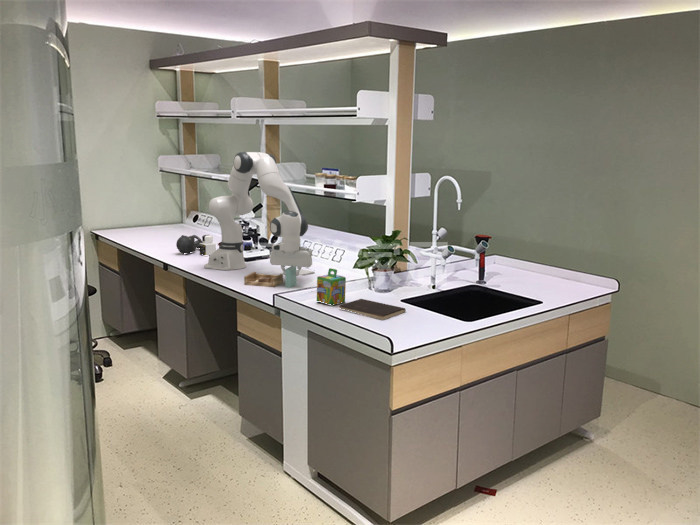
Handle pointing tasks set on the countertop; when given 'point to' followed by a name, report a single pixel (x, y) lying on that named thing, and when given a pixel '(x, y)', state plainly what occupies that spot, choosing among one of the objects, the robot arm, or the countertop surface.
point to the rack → (274, 282)
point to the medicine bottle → (207, 245)
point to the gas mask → (188, 244)
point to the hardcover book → (373, 309)
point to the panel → (290, 277)
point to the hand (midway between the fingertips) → (291, 275)
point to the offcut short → (264, 279)
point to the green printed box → (331, 288)
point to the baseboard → (304, 272)
